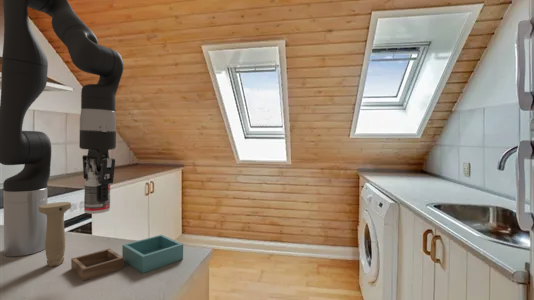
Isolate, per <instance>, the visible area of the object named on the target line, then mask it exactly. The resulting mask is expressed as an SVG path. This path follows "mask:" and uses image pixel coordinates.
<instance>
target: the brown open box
mask: <svg viewBox="0 0 534 300" xmlns="http://www.w3.org/2000/svg"><path fill="white" fill-rule="evenodd" d="M70 259H71V260H70V262H71V263H70V264H71V270H72V271H73V272H74V273H75V274H76V276H78V277H79V278H80V279H81V280H82V281H83V282H84V281H87V280H90V279H94V278H97V277H101V276H103V275H106V274H110V273H112V272H115V271H119V270H121V269H124V266H125V261H124V258H123V257H122V255H120V254H118V253H117V252H116V251H114V250H112V249H111V248H107V249H102V250H99V251H95V252H92V253H87V254H82V255H80V256H76V257H72V258H70ZM96 263H97V264H96ZM93 264H94V265H93Z"/></svg>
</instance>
